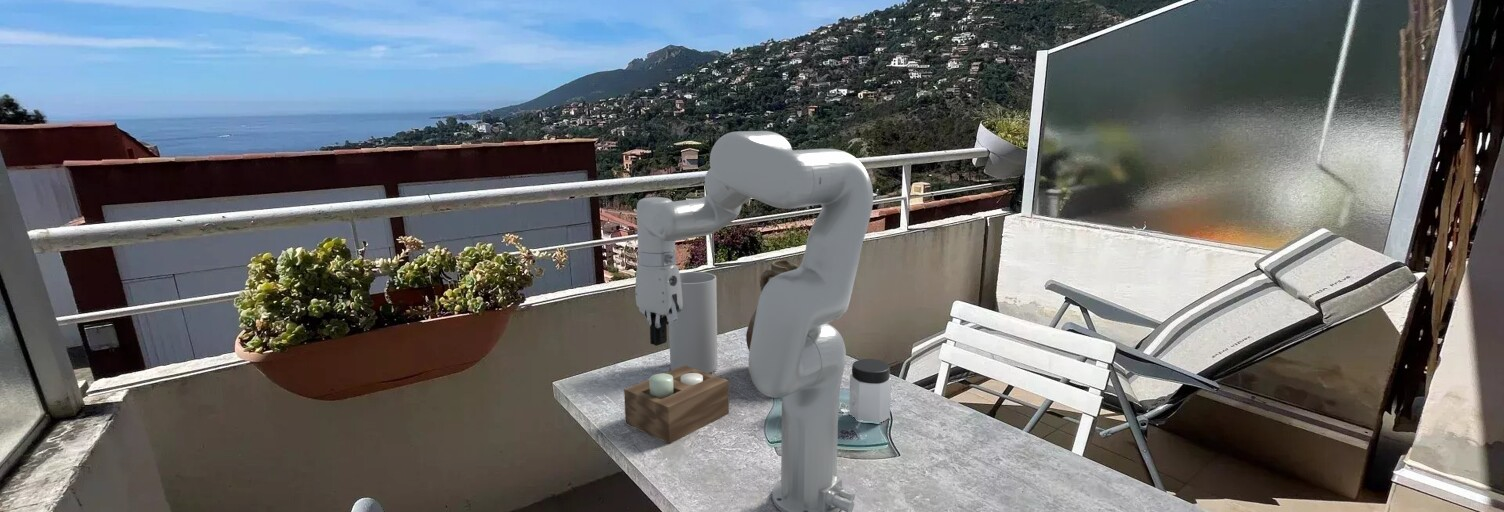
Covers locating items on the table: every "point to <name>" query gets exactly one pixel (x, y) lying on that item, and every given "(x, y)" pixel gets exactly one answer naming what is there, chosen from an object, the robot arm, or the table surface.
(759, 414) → the table surface
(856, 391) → the jar
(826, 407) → the robot arm
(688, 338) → the cylinder vase
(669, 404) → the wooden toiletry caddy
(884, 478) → the table surface
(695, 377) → the ivory button
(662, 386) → the sage button
